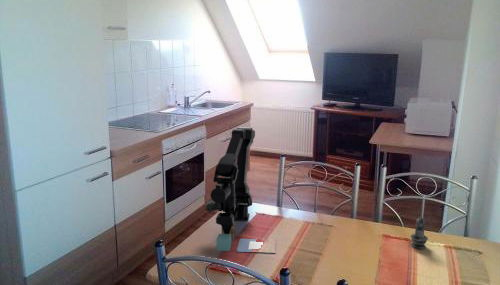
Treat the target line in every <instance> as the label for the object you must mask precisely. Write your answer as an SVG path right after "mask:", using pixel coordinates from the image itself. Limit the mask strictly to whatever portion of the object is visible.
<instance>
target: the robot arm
mask: <svg viewBox="0 0 500 285" xmlns="http://www.w3.org/2000/svg"><path fill="white" fill-rule="evenodd" d="M255 137H256V131H255V130H254V129H253V127H249V126H248V127H247V126H237V128H233V129H232V131H231V137H230V140H229V142H228V146H227V149H226V151H225V153H224V155H223V156H222V157H220V159H219V161H218V162H217V164H216V166H215V170H214V175H213V183H216V184H215V187H214V188H213V189H212V190H211V192H210V199H211V200H208V201H207V202H206V203H205V205H204V206H205V211H207V213H209V214H210V213H212V212H214V211H215V212H216V211H218V212H219V213H218V214H217V215H216V217H215V224H217V225H219V226H220V227H221V229H222V228H223V231H224V234H229V233H230V230H231V227H232V225H233V223H235V222H234V221H247V222H248V221H249V219H250V213H249V207H250V206H253V197H252V194H251V192H250V187H249V186H248V183H247V177H248V166H249V165H248V164H249V151H250V147H251V146H252V145H253V143H254V139H255Z"/></svg>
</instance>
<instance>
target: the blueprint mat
mask: <svg viewBox="0 0 500 285" xmlns="http://www.w3.org/2000/svg"><path fill="white" fill-rule="evenodd" d="M257 239H258V238H239V242H238V245H237V247H236V253H244V252H251V251H253V250H254V249H259V248H261V245H263V242H256V240H257ZM252 249H253V250H252Z"/></svg>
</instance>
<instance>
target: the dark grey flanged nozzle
mask: <svg viewBox="0 0 500 285" xmlns="http://www.w3.org/2000/svg"><path fill="white" fill-rule="evenodd" d="M422 216H423V215H420V216H419V217H418V218H416V223H415V226H414V228H415V230H414V233H411V235H410V240H411V241H412V242H411V243H410V247H412V248H413V249H415V250H419V251H420V250H421V251H422V250H426V248H427V246H426V245H425V244H426V243H427V242H428V239H429V237H428V236H426V235H425V230H426V227H425V226H426V225H425V223H426V220H425V219H424V218H423V217H422Z"/></svg>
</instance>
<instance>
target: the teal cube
mask: <svg viewBox="0 0 500 285" xmlns="http://www.w3.org/2000/svg"><path fill="white" fill-rule="evenodd" d="M231 246H232V238H231V234H222V233H219V234H218V236H217V238H216V251H217V252H218V251H220V252H221V251H222V252H224V251H225V252H229V251H231Z"/></svg>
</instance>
